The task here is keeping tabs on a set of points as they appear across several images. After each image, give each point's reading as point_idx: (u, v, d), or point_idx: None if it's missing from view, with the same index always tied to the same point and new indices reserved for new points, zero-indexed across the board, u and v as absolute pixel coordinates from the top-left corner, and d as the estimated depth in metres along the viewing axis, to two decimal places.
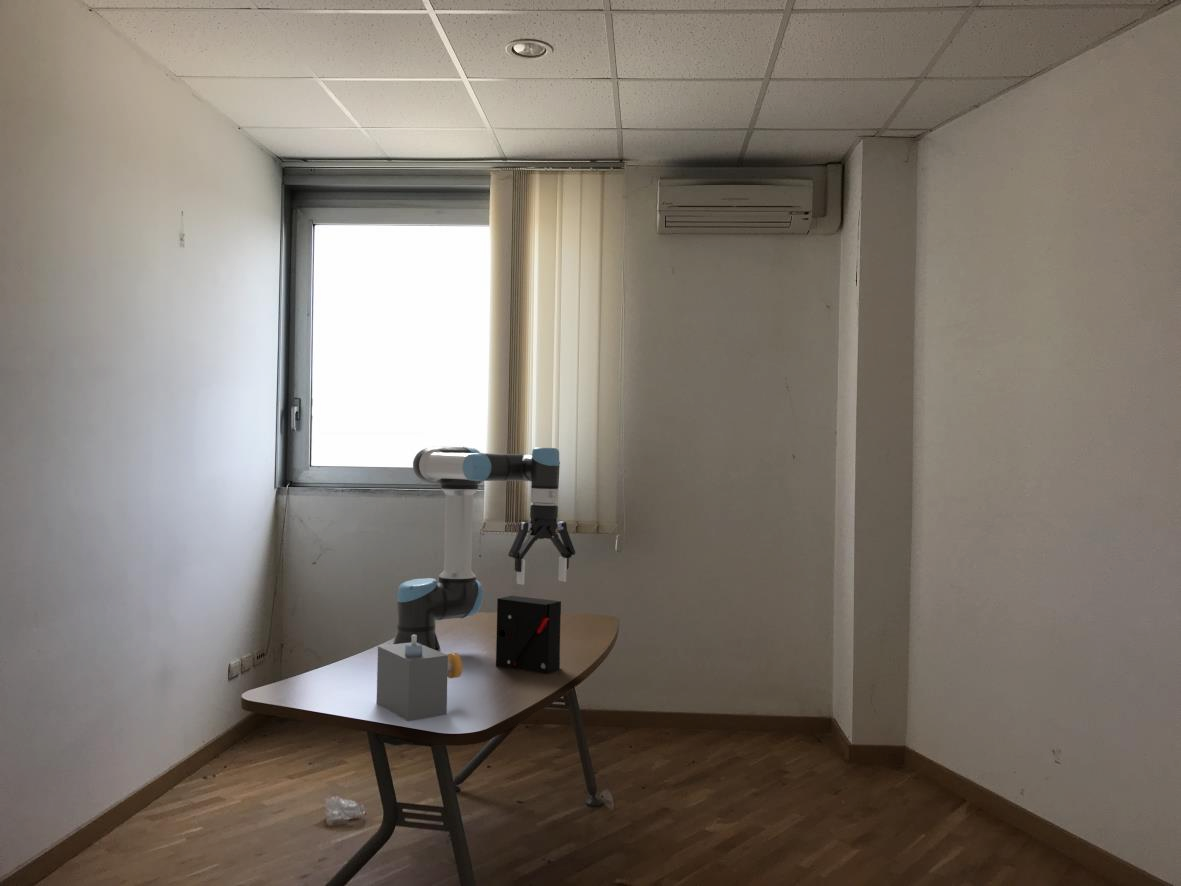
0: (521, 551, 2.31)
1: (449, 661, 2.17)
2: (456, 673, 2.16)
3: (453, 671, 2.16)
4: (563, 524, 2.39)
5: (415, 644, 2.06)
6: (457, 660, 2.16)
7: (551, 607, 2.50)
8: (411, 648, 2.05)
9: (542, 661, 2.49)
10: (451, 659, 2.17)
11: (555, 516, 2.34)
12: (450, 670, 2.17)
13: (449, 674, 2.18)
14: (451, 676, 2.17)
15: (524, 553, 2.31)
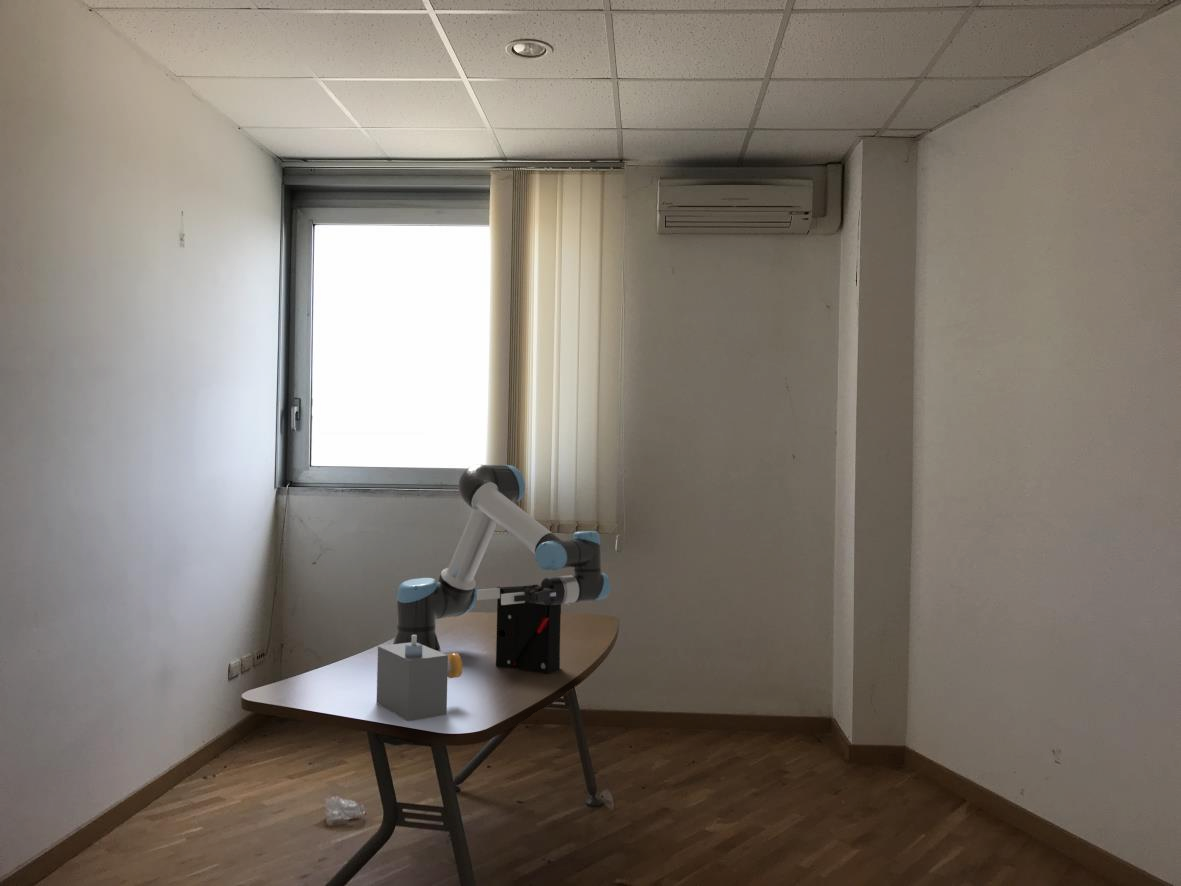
0: None
1: (449, 661, 2.17)
2: (456, 673, 2.16)
3: (453, 671, 2.16)
4: None
5: (415, 644, 2.06)
6: (457, 660, 2.16)
7: (551, 607, 2.50)
8: (411, 648, 2.05)
9: (542, 661, 2.49)
10: (451, 659, 2.17)
11: None
12: (450, 670, 2.17)
13: (449, 674, 2.18)
14: (451, 676, 2.17)
15: None
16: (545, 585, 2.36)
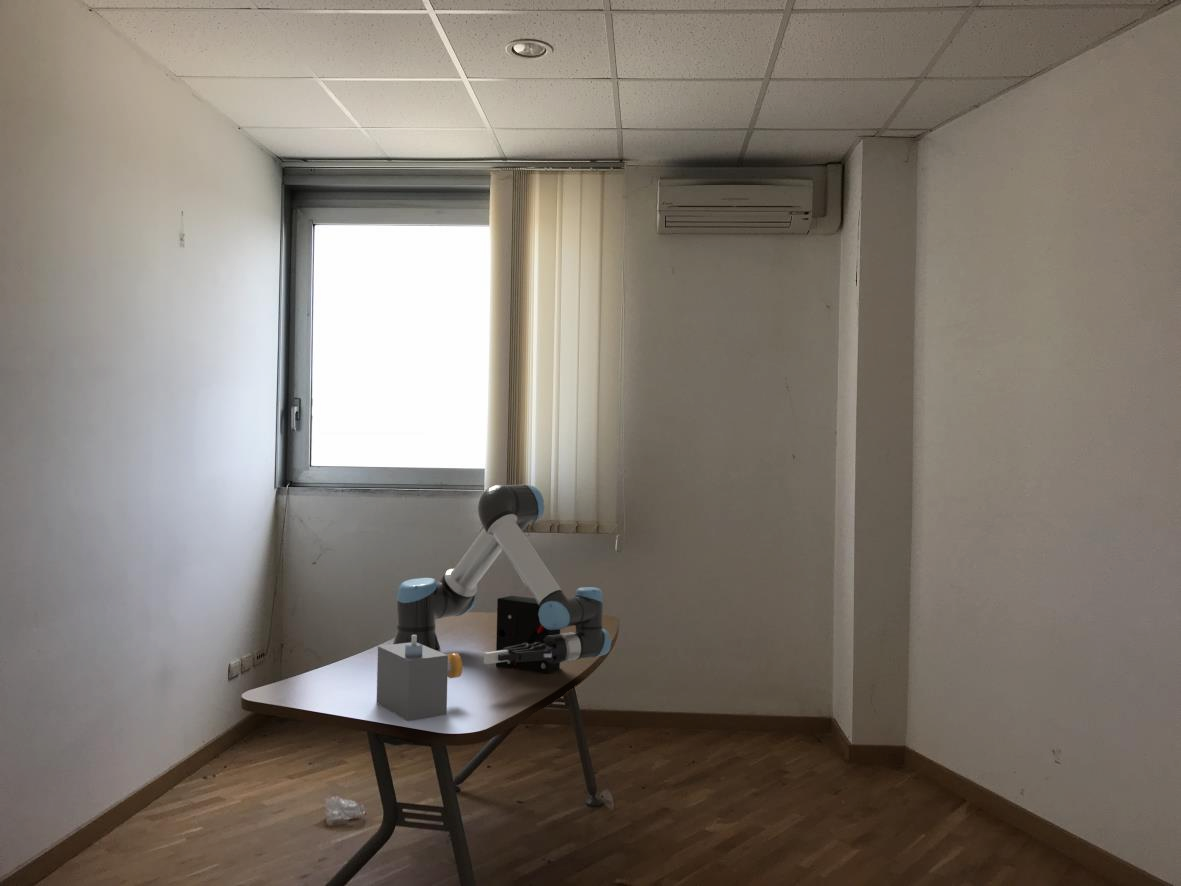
0: None
1: (449, 661, 2.17)
2: (456, 673, 2.16)
3: (453, 671, 2.16)
4: None
5: (415, 644, 2.06)
6: (457, 660, 2.16)
7: None
8: (411, 648, 2.05)
9: (542, 661, 2.49)
10: (451, 659, 2.17)
11: None
12: (450, 670, 2.17)
13: (449, 674, 2.18)
14: (451, 676, 2.17)
15: None
16: (547, 643, 2.36)
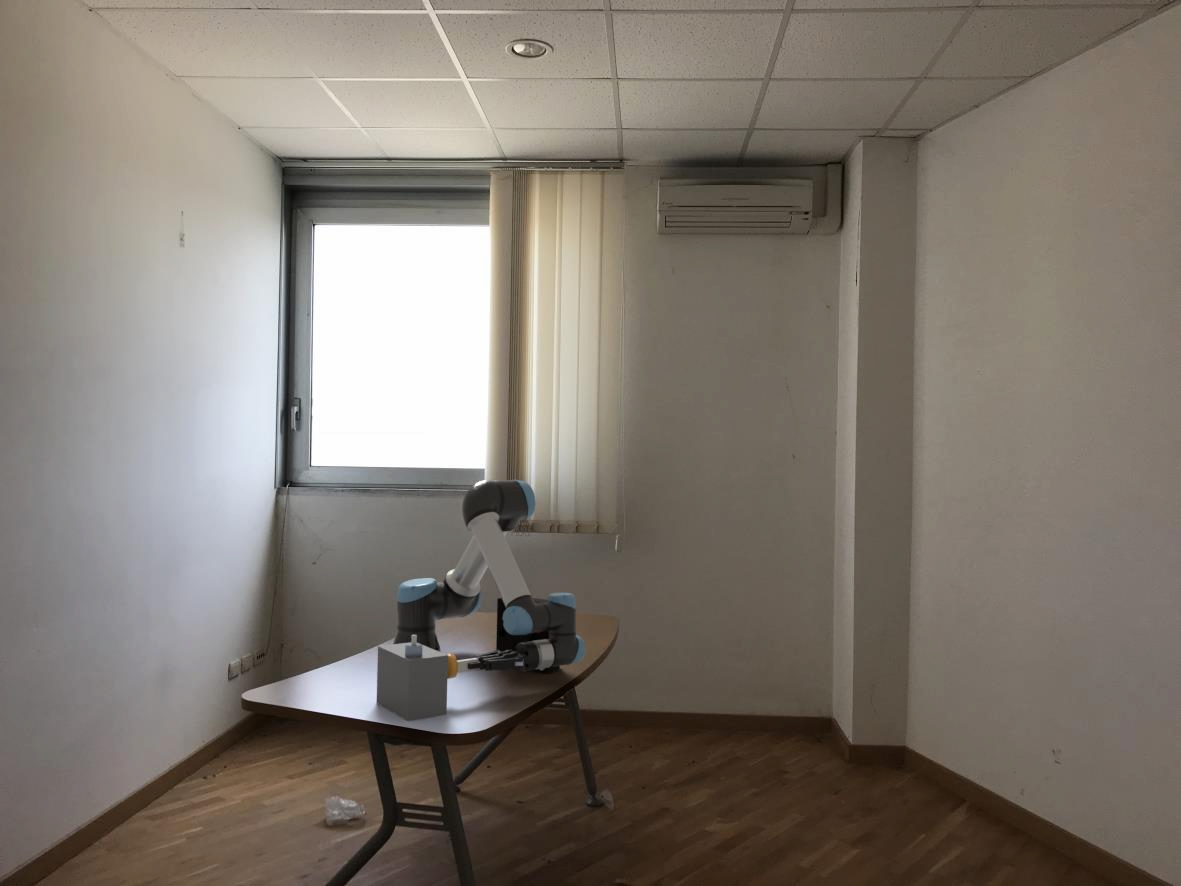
0: None
1: None
2: (452, 673, 2.15)
3: (448, 672, 2.15)
4: None
5: (415, 644, 2.06)
6: (452, 661, 2.16)
7: None
8: (411, 648, 2.05)
9: None
10: None
11: None
12: None
13: None
14: None
15: None
16: (519, 650, 2.30)
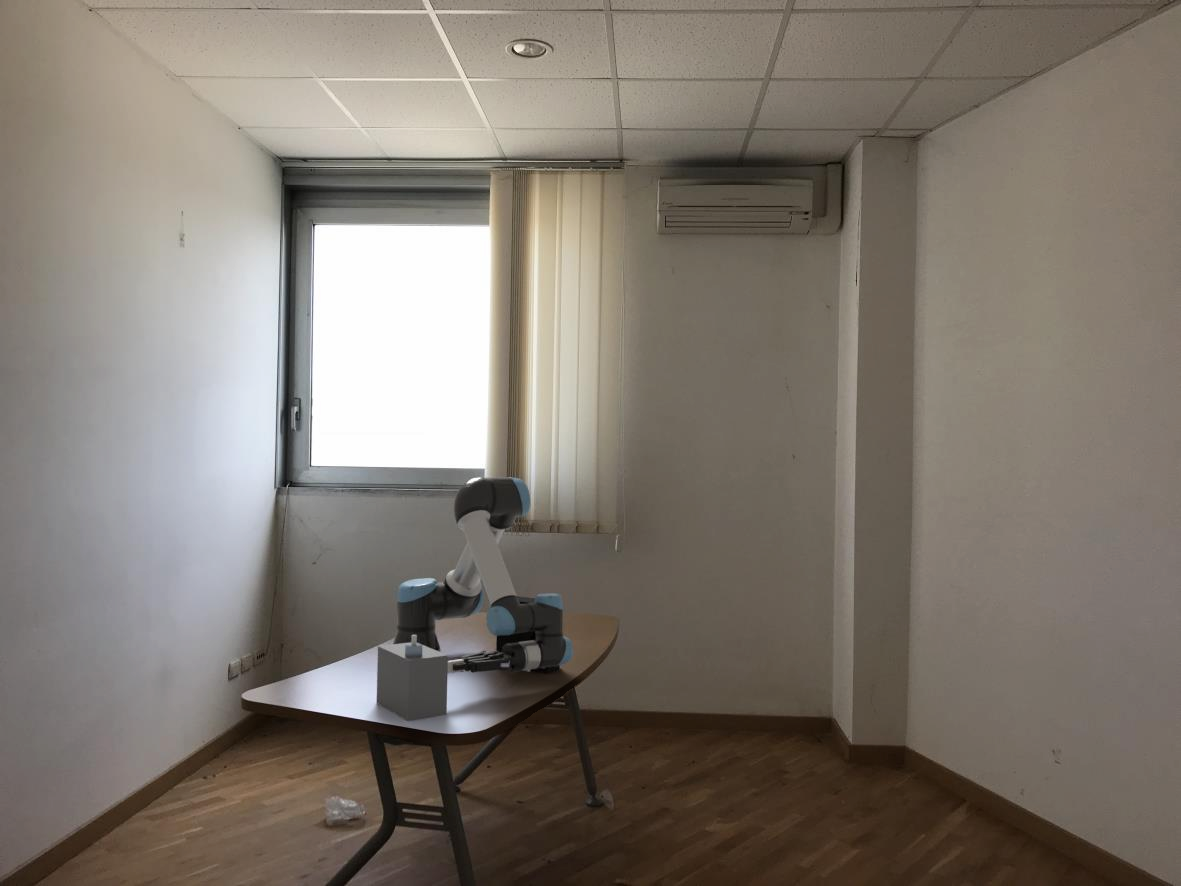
0: None
1: None
2: None
3: None
4: None
5: (415, 644, 2.06)
6: None
7: None
8: (411, 648, 2.05)
9: None
10: None
11: None
12: None
13: None
14: None
15: None
16: (506, 651, 2.28)
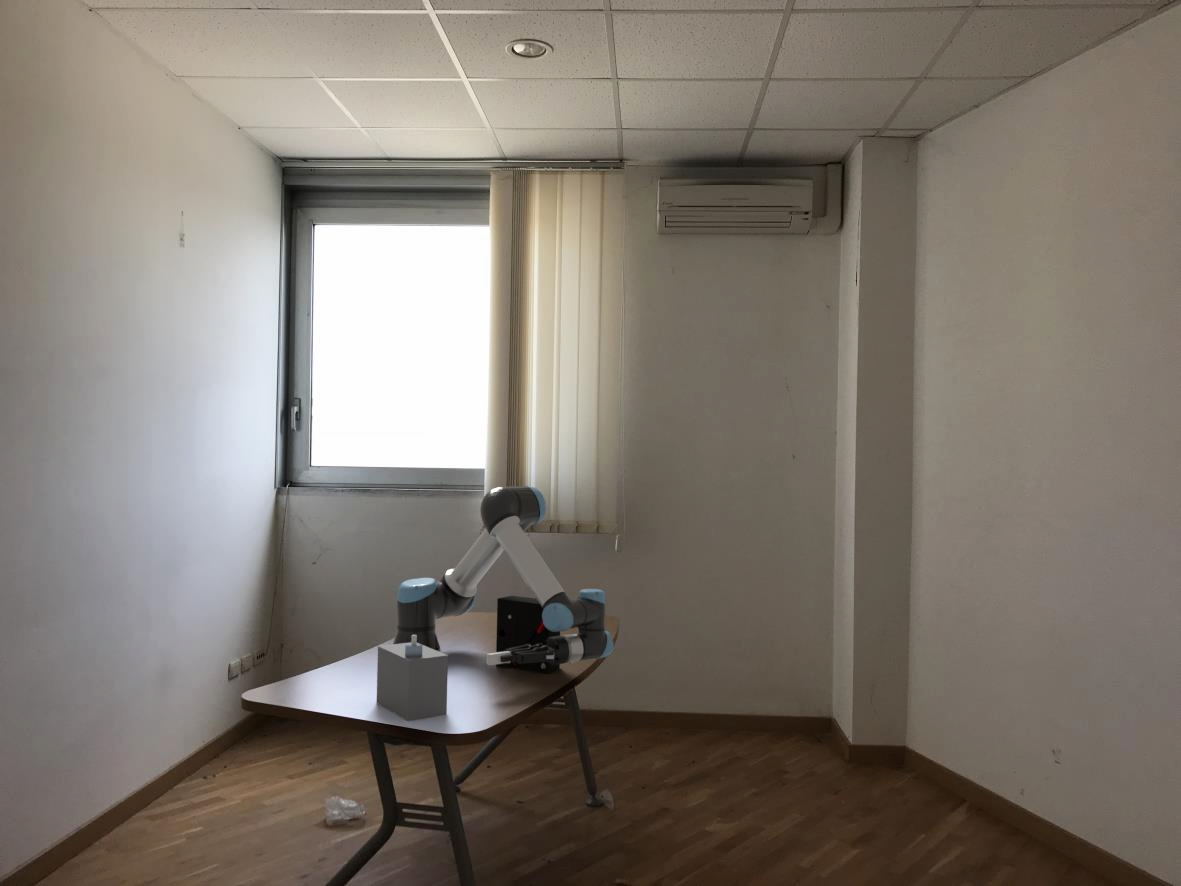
0: None
1: None
2: None
3: None
4: None
5: (415, 644, 2.06)
6: None
7: None
8: (411, 648, 2.05)
9: None
10: None
11: None
12: None
13: None
14: None
15: None
16: (550, 644, 2.37)
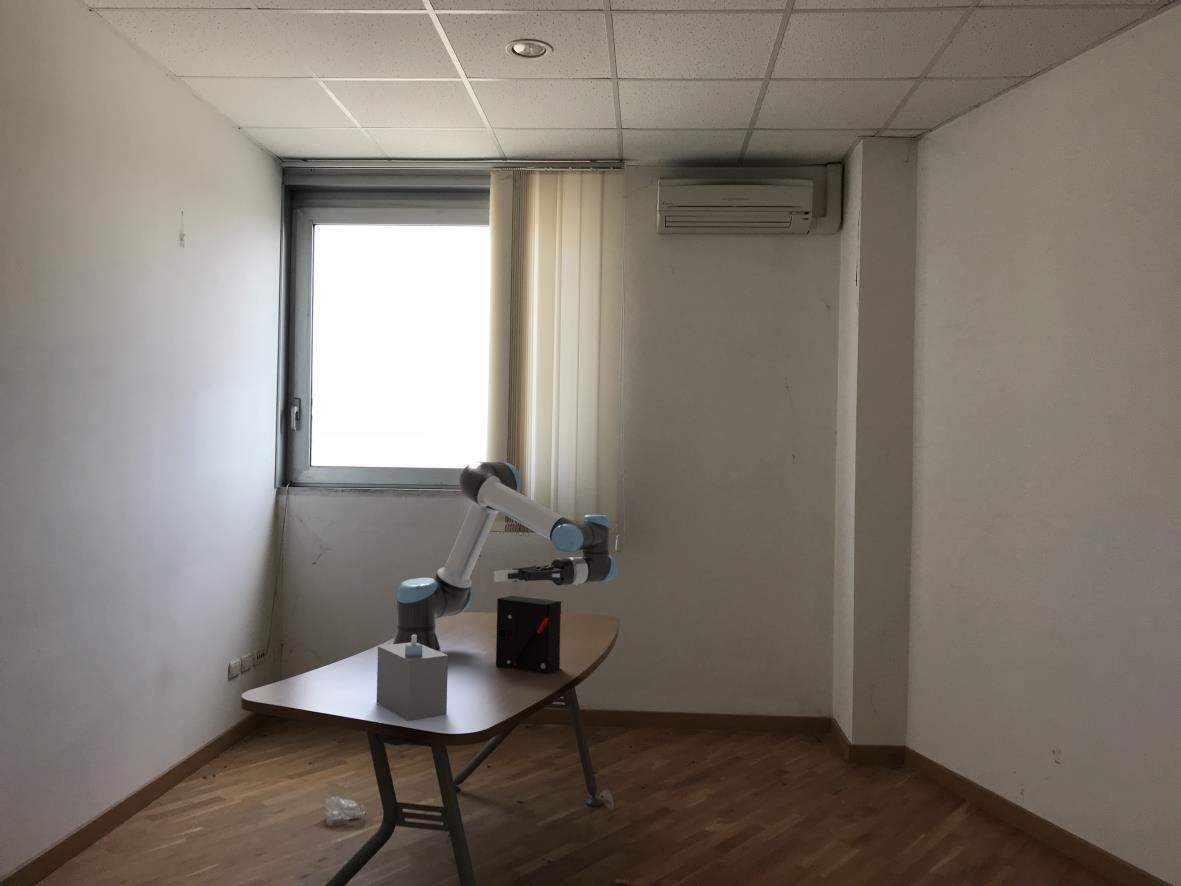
0: None
1: None
2: None
3: None
4: None
5: (415, 644, 2.06)
6: None
7: (551, 607, 2.50)
8: (411, 648, 2.05)
9: (542, 661, 2.49)
10: None
11: None
12: None
13: None
14: None
15: None
16: (555, 566, 2.43)
